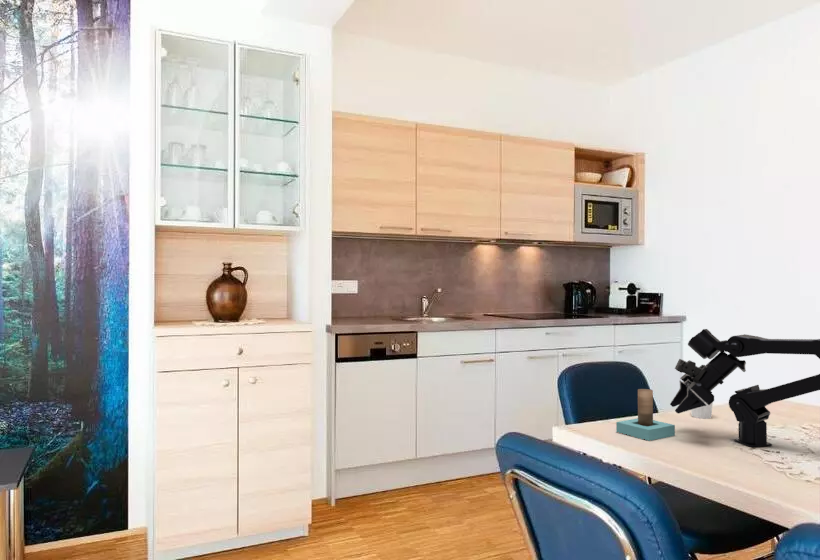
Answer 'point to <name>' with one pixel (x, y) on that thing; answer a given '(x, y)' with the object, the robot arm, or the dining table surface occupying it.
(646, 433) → the socket block
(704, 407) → the white cup
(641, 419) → the walnut pin
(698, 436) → the dining table surface
